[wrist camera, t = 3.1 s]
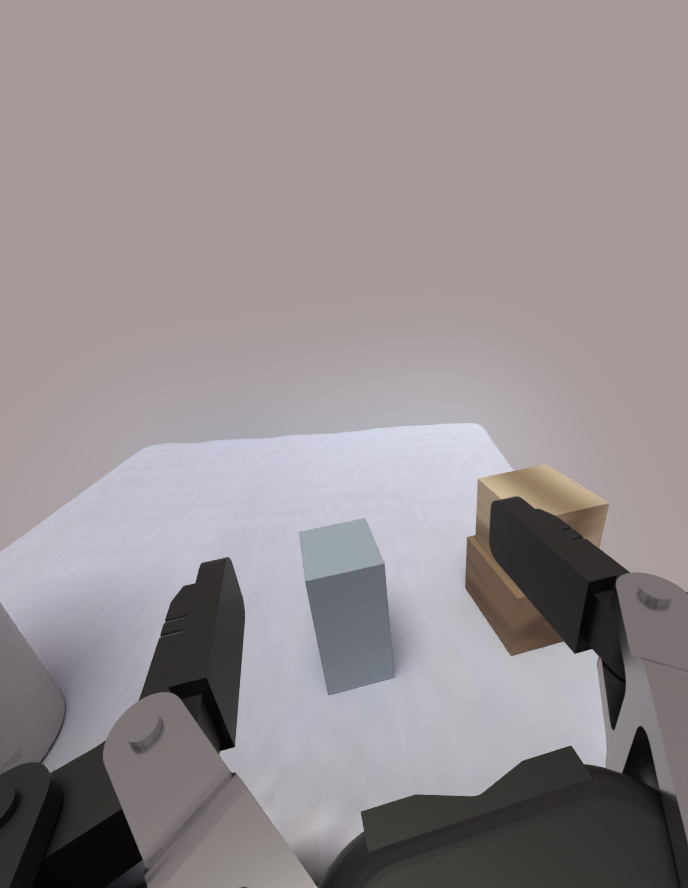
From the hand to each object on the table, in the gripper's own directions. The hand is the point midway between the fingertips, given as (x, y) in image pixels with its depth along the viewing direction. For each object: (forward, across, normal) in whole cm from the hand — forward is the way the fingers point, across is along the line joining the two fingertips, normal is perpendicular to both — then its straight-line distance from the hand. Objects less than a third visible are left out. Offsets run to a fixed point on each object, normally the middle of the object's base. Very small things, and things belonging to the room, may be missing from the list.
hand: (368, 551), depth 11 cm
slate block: (+11, 0, +20) cm, 23 cm away
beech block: (+12, -15, +14) cm, 24 cm away
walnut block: (+12, -15, +20) cm, 27 cm away
